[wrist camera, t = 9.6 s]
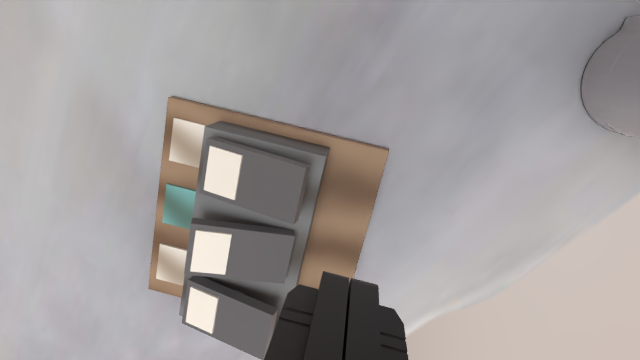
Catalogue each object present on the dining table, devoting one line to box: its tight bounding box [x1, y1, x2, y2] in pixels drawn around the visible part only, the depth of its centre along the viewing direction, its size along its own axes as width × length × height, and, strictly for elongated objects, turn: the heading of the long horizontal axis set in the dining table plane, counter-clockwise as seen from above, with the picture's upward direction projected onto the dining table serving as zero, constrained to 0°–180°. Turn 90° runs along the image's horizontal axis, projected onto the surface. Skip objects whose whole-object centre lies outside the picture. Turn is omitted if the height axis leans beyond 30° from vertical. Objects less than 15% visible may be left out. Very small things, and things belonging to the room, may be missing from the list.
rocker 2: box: [184, 218, 295, 284], centre depth 36 cm, size 5×9×2 cm, turn 77°
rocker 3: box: [182, 276, 278, 360], centre depth 38 cm, size 5×9×2 cm, turn 77°
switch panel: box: [148, 97, 389, 333], centre depth 40 cm, size 22×22×5 cm
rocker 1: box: [199, 136, 311, 225], centre depth 34 cm, size 5×9×2 cm, turn 77°
